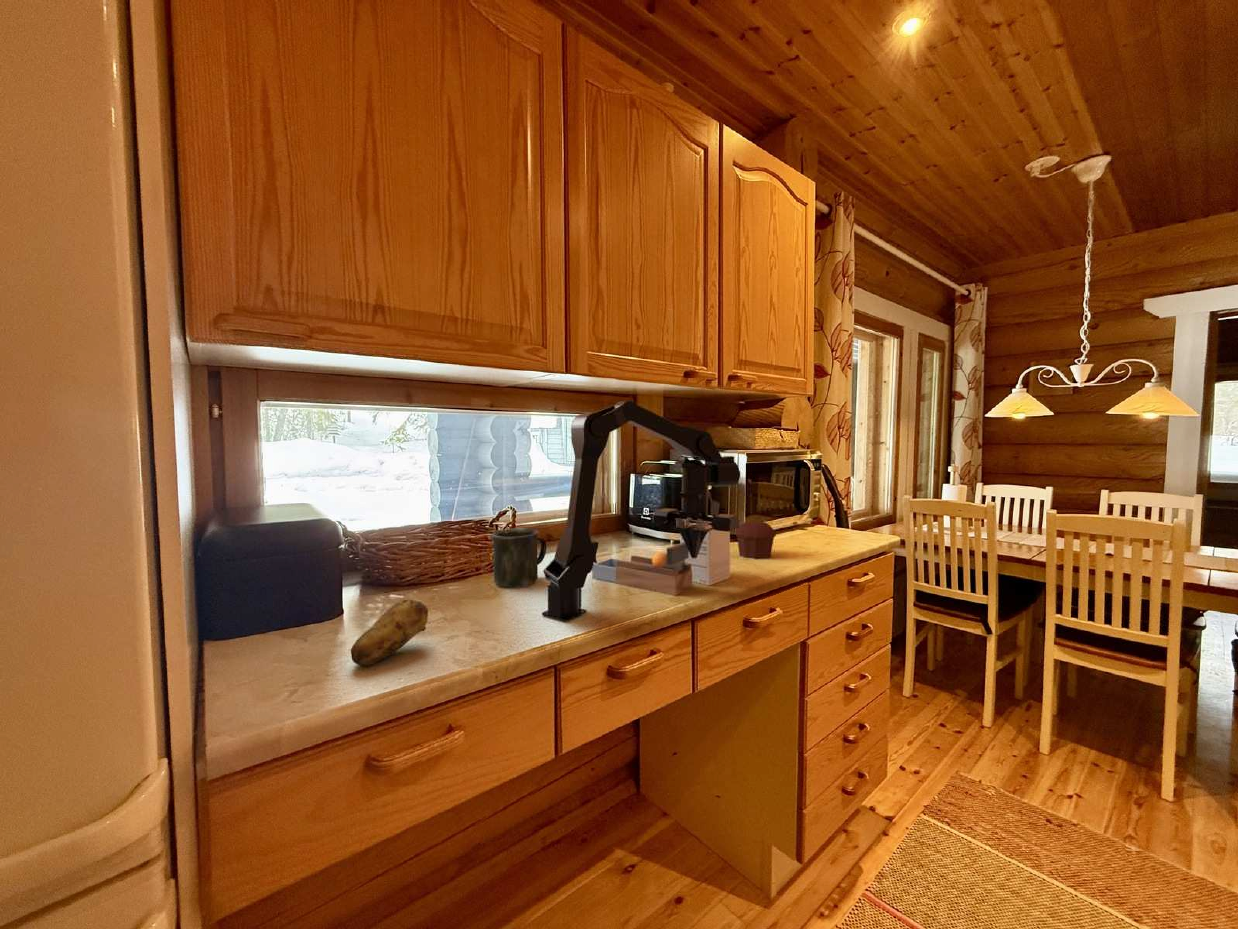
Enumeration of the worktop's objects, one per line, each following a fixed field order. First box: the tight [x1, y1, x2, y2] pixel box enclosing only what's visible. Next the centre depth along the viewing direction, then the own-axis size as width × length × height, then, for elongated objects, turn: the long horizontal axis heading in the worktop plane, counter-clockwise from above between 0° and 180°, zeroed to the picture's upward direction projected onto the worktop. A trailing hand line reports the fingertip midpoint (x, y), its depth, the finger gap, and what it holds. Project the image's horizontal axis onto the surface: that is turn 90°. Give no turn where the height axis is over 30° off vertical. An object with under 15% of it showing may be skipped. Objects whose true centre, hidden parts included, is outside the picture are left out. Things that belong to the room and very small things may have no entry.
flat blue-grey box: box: [591, 557, 631, 584], centre depth 129 cm, size 8×8×4 cm
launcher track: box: [615, 555, 693, 596], centre depth 122 cm, size 8×16×5 cm, turn 55°
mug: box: [490, 527, 547, 588], centre depth 126 cm, size 11×15×12 cm
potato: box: [350, 599, 429, 667], centre depth 84 cm, size 8×13×8 cm, turn 135°
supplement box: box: [679, 516, 731, 586], centre depth 128 cm, size 9×9×15 cm
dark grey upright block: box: [666, 542, 689, 573], centre depth 119 cm, size 8×2×6 cm, turn 145°
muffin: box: [734, 519, 777, 560], centre depth 152 cm, size 12×11×10 cm
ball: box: [652, 551, 667, 568], centre depth 121 cm, size 4×4×4 cm
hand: (694, 557), depth 116 cm, fingers closed
